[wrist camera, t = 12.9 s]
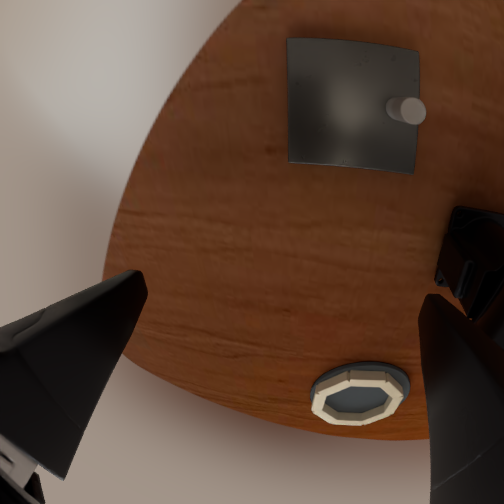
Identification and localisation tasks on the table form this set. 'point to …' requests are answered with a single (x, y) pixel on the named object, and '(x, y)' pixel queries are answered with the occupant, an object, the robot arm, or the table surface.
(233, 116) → the table surface
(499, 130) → the table surface
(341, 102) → the peg stand
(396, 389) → the ring
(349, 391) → the felt pad
